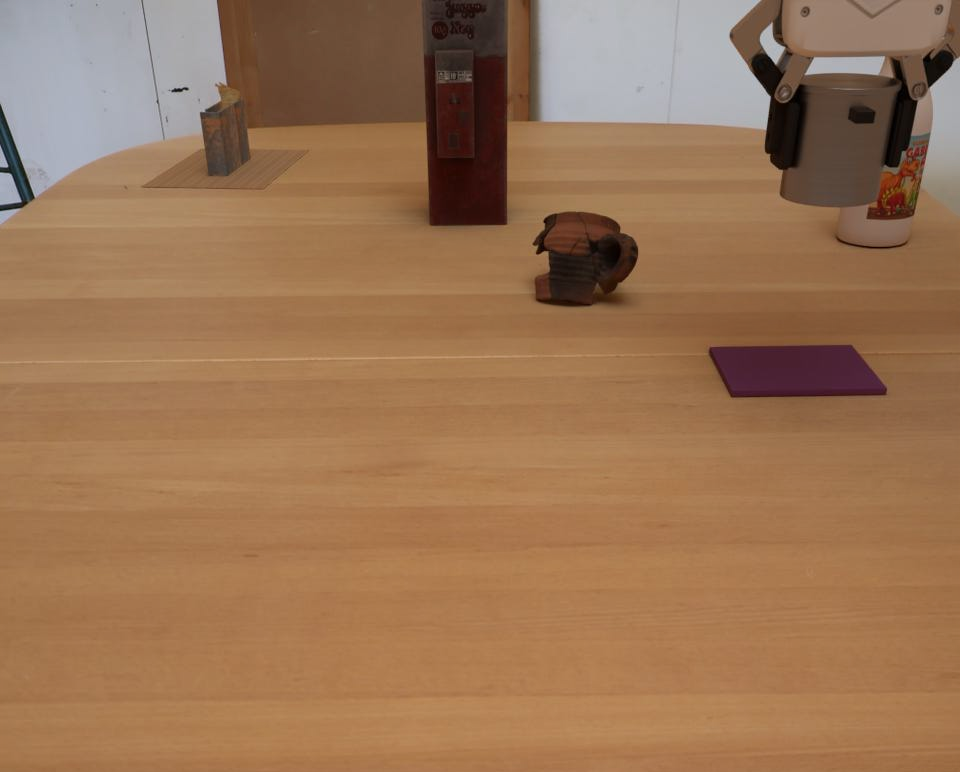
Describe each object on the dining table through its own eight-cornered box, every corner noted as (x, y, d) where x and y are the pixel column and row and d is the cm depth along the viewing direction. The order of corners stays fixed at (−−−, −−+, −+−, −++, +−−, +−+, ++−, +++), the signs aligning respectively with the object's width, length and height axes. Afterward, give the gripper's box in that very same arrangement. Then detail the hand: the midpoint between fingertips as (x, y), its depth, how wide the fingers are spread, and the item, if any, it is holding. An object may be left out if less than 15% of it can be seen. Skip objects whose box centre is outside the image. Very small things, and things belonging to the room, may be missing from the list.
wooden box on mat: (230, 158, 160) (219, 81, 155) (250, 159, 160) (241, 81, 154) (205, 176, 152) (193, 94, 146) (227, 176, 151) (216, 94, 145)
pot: (856, 179, 81) (876, 69, 77) (901, 211, 74) (925, 91, 70) (762, 181, 81) (776, 71, 77) (796, 214, 74) (814, 93, 69)
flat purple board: (850, 350, 95) (851, 344, 95) (886, 394, 87) (887, 388, 87) (708, 352, 95) (709, 346, 94) (731, 396, 87) (732, 390, 86)
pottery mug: (505, 301, 108) (516, 212, 107) (566, 325, 115) (576, 242, 114) (605, 291, 100) (618, 195, 99) (664, 318, 107) (676, 228, 106)
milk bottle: (832, 245, 121) (869, 28, 109) (837, 228, 127) (873, 20, 115) (907, 251, 119) (954, 30, 107) (909, 233, 125) (953, 22, 113)
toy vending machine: (428, 230, 128) (417, -71, 111) (432, 206, 137) (423, -76, 120) (507, 229, 128) (508, -72, 111) (506, 205, 136) (507, -77, 120)
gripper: (755, -170, 62) (717, 179, 73) (1063, -175, 63) (980, 174, 74) (726, -167, 68) (695, 156, 79) (1008, -171, 69) (939, 151, 80)
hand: (833, 162), depth 76 cm, fingers closed on pot, 6 cm apart
